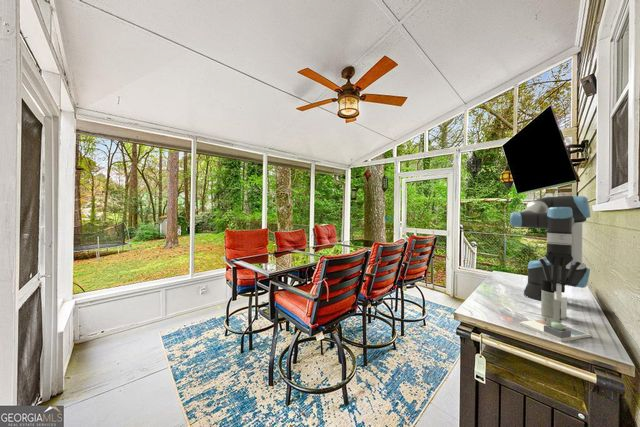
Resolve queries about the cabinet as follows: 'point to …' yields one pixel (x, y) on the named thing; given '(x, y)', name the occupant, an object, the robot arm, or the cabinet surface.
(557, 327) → the button
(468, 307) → the cabinet surface
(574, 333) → the picture board
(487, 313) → the cabinet surface
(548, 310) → the spray can
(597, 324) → the cabinet surface
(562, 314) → the mug
